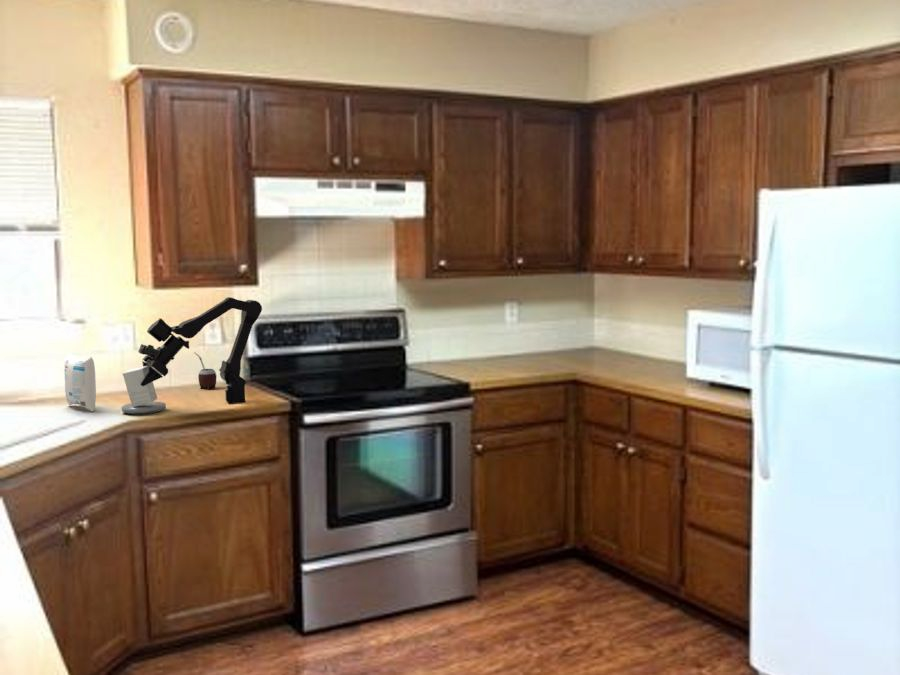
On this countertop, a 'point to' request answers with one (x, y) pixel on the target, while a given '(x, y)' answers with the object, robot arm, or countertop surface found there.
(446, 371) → the countertop surface
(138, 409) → the dish
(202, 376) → the mate gourd
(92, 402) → the pouch
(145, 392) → the supplement box
